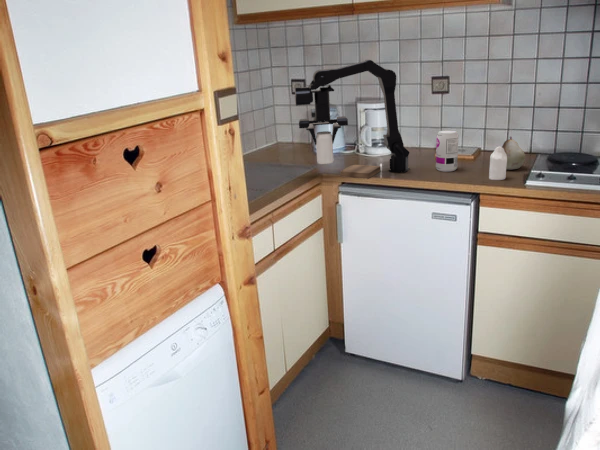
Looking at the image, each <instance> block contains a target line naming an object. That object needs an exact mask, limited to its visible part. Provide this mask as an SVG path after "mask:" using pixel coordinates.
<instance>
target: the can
mask: <svg viewBox="0 0 600 450" xmlns="http://www.w3.org/2000/svg"><path fill="white" fill-rule="evenodd" d="M315 138H316V145H315V146H316V149H315V150H316V161H317V162H316V163H317V164H318V165H322V166H323V165H331V164H333V163H334V143H333V142H332V131H329V130H328V131H327V130H326V131H318V132H316V135H315Z"/></svg>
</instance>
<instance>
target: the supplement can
mask: <svg viewBox="0 0 600 450" xmlns="http://www.w3.org/2000/svg"><path fill="white" fill-rule="evenodd" d="M435 144H436V145H435V149H436V151H435V169H436V170H438V172H444V173H445V172H453V171H456V170H457V169H458V158H459V157H458V155H459V134H458V131H456V130H449V129H447V130H439V131H438V132H437V134H436V143H435Z"/></svg>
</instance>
